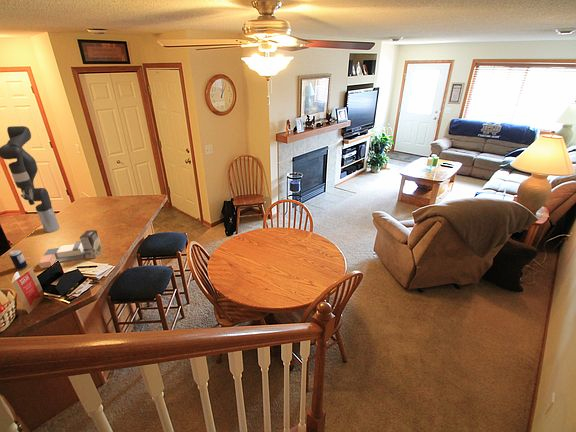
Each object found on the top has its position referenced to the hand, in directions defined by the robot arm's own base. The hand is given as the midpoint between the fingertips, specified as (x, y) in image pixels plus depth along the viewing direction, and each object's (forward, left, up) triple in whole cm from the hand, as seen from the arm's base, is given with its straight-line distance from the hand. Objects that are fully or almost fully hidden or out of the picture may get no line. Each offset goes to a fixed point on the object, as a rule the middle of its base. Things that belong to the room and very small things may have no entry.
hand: (32, 204), depth 192 cm
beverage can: (+23, -8, -32) cm, 40 cm away
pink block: (+25, +7, -31) cm, 40 cm away
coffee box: (+20, +31, -32) cm, 49 cm away
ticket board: (+15, +13, -32) cm, 38 cm away
